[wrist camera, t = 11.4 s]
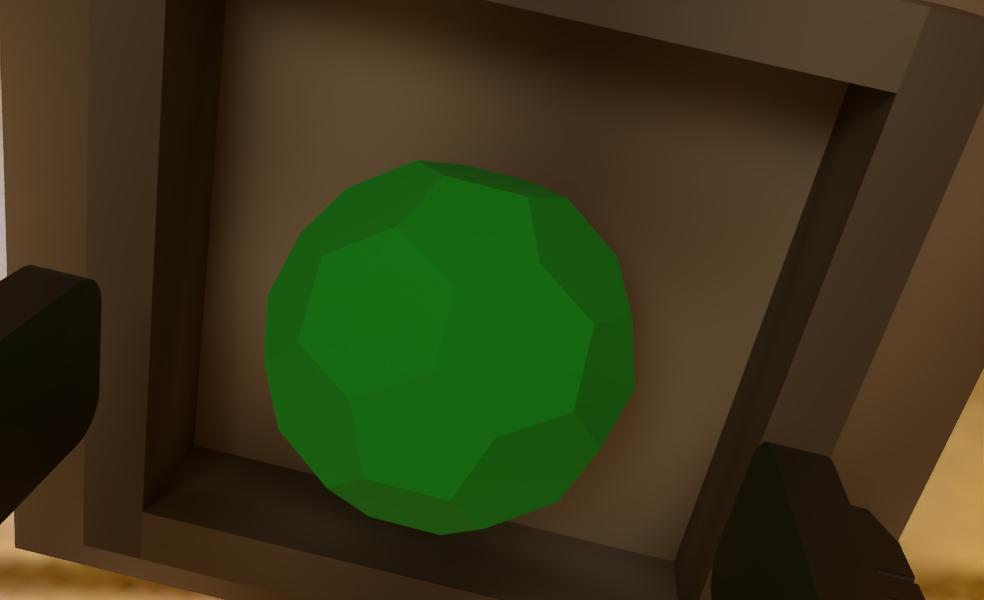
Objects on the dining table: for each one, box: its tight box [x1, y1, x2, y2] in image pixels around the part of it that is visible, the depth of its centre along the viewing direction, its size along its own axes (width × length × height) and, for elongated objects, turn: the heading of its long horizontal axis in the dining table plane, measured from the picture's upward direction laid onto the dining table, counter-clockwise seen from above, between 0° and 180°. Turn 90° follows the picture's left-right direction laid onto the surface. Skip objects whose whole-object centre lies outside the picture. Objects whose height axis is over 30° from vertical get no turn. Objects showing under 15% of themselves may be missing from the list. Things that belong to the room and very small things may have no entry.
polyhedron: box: [264, 160, 635, 535], centre depth 12 cm, size 5×5×5 cm
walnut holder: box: [0, 0, 984, 600], centre depth 14 cm, size 16×16×3 cm
